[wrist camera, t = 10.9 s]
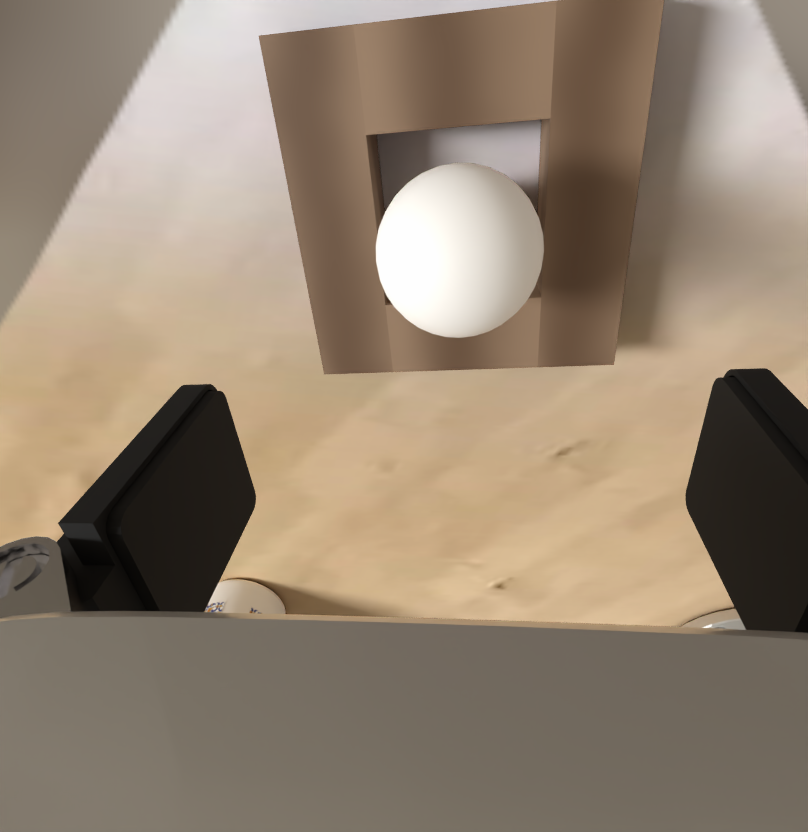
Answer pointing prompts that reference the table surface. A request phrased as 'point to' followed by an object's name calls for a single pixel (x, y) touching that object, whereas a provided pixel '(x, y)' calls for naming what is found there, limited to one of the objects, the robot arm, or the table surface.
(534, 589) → the table surface
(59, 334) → the table surface
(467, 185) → the lightbulb
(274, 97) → the socket block
